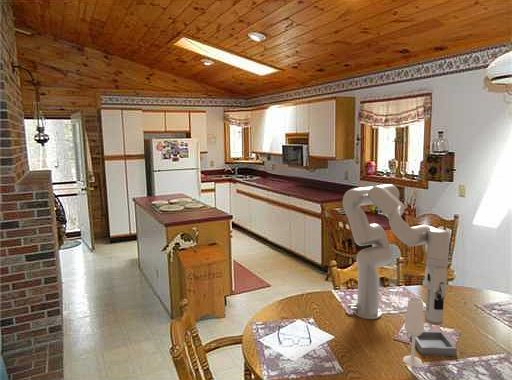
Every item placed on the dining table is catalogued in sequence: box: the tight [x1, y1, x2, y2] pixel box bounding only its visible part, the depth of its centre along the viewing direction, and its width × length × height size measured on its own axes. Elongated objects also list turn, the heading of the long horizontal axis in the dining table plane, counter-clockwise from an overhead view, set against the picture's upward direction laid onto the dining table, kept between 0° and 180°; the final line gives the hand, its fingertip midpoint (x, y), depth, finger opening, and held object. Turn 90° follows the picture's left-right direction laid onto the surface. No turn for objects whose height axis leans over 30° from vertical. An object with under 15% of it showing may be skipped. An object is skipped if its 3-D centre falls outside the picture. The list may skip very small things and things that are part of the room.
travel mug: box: [424, 273, 445, 326], centre depth 151 cm, size 6×7×20 cm
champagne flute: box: [402, 296, 425, 367], centre depth 142 cm, size 7×7×24 cm
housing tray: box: [409, 330, 458, 357], centre depth 153 cm, size 13×13×3 cm
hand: (434, 305), depth 151 cm, fingers closed on travel mug, 6 cm apart
